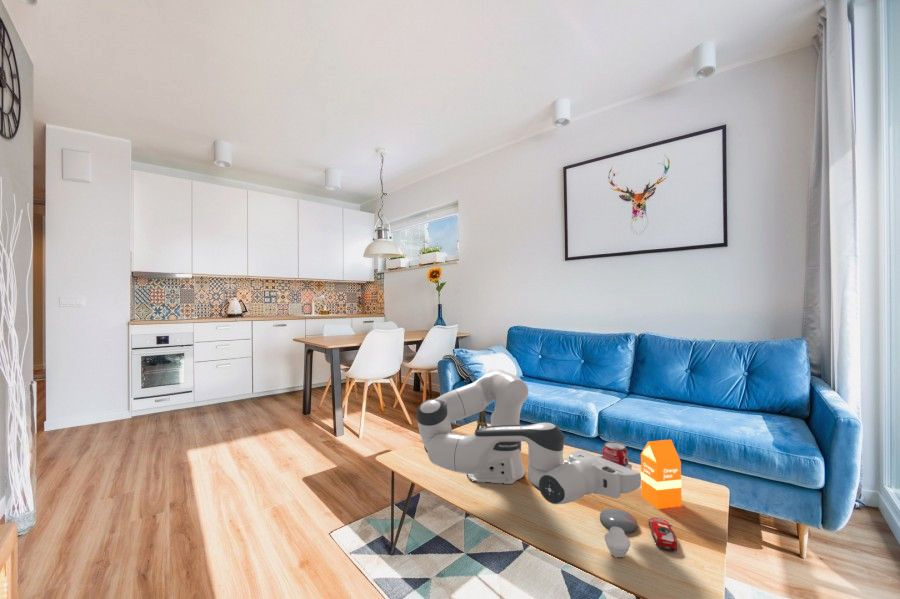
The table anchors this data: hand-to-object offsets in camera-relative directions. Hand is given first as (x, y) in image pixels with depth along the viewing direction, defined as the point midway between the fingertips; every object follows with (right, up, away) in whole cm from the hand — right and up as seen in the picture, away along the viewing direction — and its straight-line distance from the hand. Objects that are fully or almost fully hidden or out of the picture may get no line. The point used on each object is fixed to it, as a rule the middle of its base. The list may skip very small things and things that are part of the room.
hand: (618, 462), depth 111 cm
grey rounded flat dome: (0, -18, -1) cm, 18 cm away
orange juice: (+19, -18, +11) cm, 28 cm away
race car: (+9, -18, -7) cm, 22 cm away
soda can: (-1, -7, 0) cm, 7 cm away
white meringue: (-7, -18, -14) cm, 24 cm away
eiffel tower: (-35, -20, +65) cm, 76 cm away
